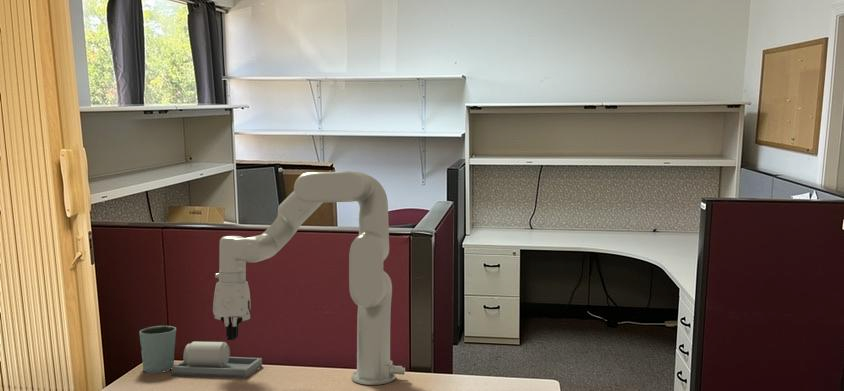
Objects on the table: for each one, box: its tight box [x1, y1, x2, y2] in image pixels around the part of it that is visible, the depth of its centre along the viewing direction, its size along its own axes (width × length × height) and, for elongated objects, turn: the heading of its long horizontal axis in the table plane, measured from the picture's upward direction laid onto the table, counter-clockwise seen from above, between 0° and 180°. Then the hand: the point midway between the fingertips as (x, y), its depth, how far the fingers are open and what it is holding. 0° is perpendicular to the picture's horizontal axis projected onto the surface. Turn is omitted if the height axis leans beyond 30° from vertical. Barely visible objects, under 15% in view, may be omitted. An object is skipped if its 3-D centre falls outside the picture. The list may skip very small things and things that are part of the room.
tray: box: [171, 356, 263, 380], centre depth 185 cm, size 22×12×2 cm, turn 83°
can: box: [182, 341, 231, 368], centre depth 185 cm, size 8×8×12 cm
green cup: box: [138, 325, 177, 374], centre depth 186 cm, size 10×10×12 cm
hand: (232, 338), depth 184 cm, fingers closed
